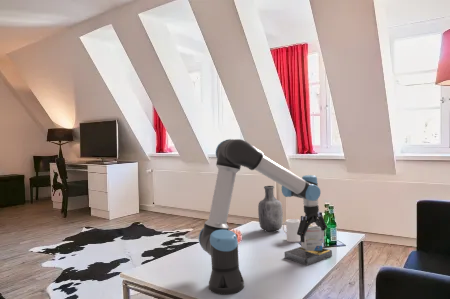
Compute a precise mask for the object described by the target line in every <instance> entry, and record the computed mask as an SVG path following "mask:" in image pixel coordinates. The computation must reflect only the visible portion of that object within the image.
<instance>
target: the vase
mask: <svg viewBox="0 0 450 299" xmlns="http://www.w3.org/2000/svg"><path fill="white" fill-rule="evenodd" d="M263 189H264V194H265V195H264V198H263V199H261V200H260V201H259V202H258V205H257V206H258V209H257V211H258V212H257V213H258V215H257V216H258V224H259V227H260V228H261V230H263V231H264V232H269V233H274V232H278V231H279V230H281V229H282V228H283V224H284V220H283V219H284V218H283V216H284V215H283V214H284V213H283V205H282V201H281V200H279V199H277V198H276V197H275V194H274V189H275V185H266V186H265V185H264V186H263Z"/></svg>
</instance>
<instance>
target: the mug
mask: <svg viewBox="0 0 450 299" xmlns="http://www.w3.org/2000/svg"><path fill="white" fill-rule="evenodd" d="M300 221H301V219H298V218H289V219H286V220H285V221H284V222H283V224H282V230H283V232H284V233H285V234H286V241H287V242H289V243H299V242H301V240H300V235H297V232H298V228H299V224H300ZM285 225H286V229H285Z"/></svg>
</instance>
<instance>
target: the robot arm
mask: <svg viewBox="0 0 450 299" xmlns="http://www.w3.org/2000/svg"><path fill="white" fill-rule="evenodd" d="M215 156H216V163H215V166H216V168H217V169H218V170H217V174H216V180H215V185H214V189H213V190H214V191H213V195H212V201H211V205H210V211H209V216H208V219H207V220H205V221H204V224H203V228H202V229H200V231H199V234H198V243H199V244H200V247H201V248H202V250H203V251H205V252H206V253H207V254H208V255H209V256H210V257H211V258H210V260H211V272H210V277H209V281H208V289H209V291H210V290H211V291H210V292H212V293H213V292H214V293H213V294H216V295H233V294H236V293H238V292H241V291H242V290H243V289H244V287H245V282H244V277H243V275H242V273H241V272H242V271H241V270H240V265H239V264H240V262H239V248H238V247H239V246H238V245H239V243H238V236H237V234H236V233H235V232H234V231H233V230H229V229H230V226H229V225H228V224H227V223H228V216H229V211H230V207H231V201H232V197H233V191H234V186H235V182H236V174H237V173H238V172H240V171H241V168H242V167H244V168H247V169H249V171H254V170H255V171H257V172H258V173H260V174H261V175H263V176H265V177H267V178H268V179H270V180H272V181H274V182H276V183H277V184H279V185H281V193H282V195H283V196H284V197H286V198H291V197H295V198H298V199H299V198H300V199H303V201H302V202H303V213H304V215H301V216H300V224H299V228H298V232H297V235H300V240H301V241H300V242H301V244H300V245H301V246H300V247H302V248H304V249H307V248H306V236H305V233H306V231H307V229H308V227H310V226H311V224H313V223H315V225H316V226H320V227H321V234H322V244H324V243H325V231H326V230H327V228H328V225H327V222H326V220H325V218H324V216H323V212H321V211H320V210H319V209H320V208H319V198H320V196H321V188H320V187H319V186H318V185H319V184H318V177H317V176H316V175H312V174H310V175H309V174H308V175H303V176H302V177H300V176H298V175H297V174H295V173H293V172H292V171H291V170H288V169H287V168H285V167H283V166H282V165H281V164H279V163H277V162H275V161H274V160H272V159H270V158H269V157H267V156H266V155H264V152H263V151H262V150H261V149H258V148H257V147H256V146H254V145H253V144H251V143H250V142H247V140H244V139H239V138H236V139H233V138H229V139H225V140H223V141H221V142H219V143H218V145H217V146H216V149H215Z"/></svg>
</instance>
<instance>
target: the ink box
mask: <svg viewBox="0 0 450 299" xmlns="http://www.w3.org/2000/svg"><path fill="white" fill-rule="evenodd" d="M305 236H306V248H307V249H305V250H306V251H322V248H323V243H322V234H321V227H320V226H317V225H316V226H315V225H314V226H311V225H310V226H309V227H308V229H307V231H306V233H305Z"/></svg>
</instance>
